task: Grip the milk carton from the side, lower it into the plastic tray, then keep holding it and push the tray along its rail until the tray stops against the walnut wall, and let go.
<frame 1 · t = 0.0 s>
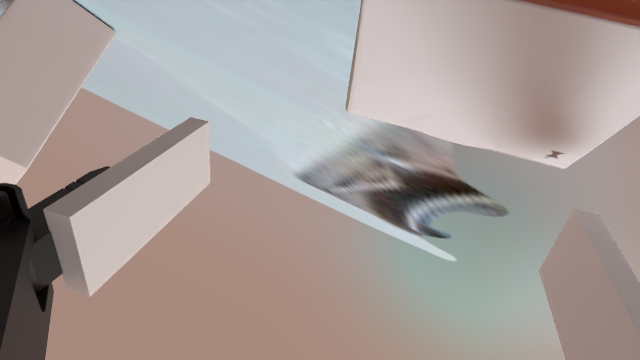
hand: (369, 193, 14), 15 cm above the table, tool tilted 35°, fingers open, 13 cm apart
milk carton: (70, 16, 38), on the table
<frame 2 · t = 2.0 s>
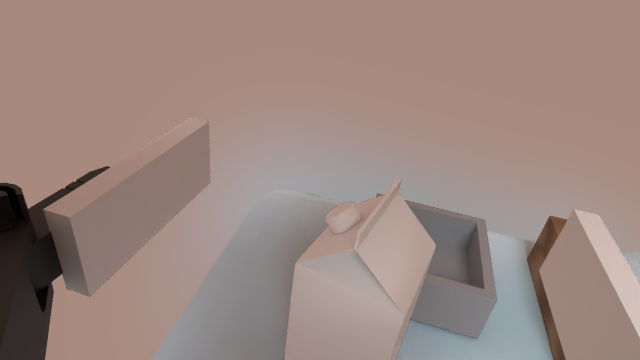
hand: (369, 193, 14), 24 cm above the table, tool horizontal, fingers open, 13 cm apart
tray: (421, 257, 44), point 3 cm above the table, slide at 0.0 cm
walnut wall: (550, 315, 43), on the table
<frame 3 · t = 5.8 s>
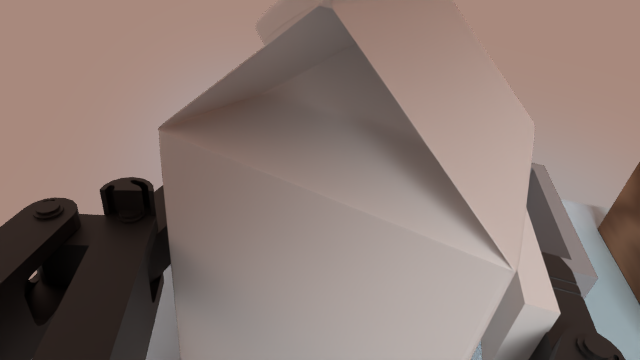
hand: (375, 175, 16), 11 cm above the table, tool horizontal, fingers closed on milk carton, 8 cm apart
tray: (451, 217, 28), point 3 cm above the table, slide at 0.0 cm
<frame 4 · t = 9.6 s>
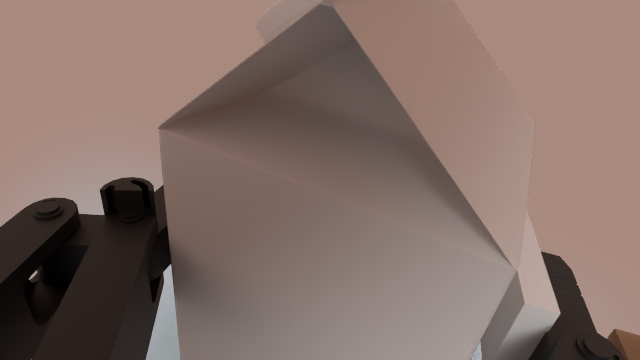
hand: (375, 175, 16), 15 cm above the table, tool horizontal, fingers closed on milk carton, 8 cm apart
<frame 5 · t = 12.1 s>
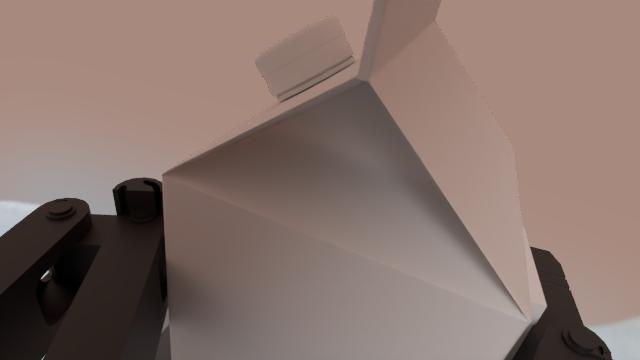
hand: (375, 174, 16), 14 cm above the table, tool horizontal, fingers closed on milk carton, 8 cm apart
when the fingers open (14 cm above the table, at t = 13.4 s): milk carton stays where it is, resting on tray.
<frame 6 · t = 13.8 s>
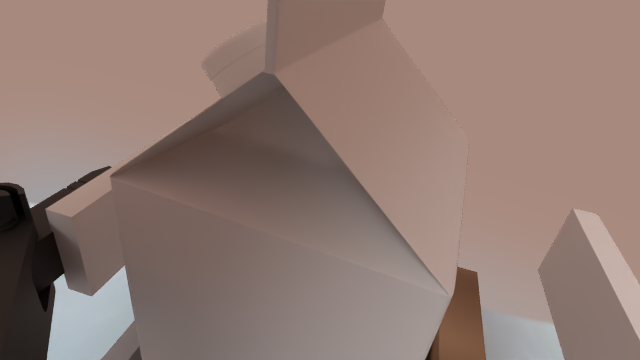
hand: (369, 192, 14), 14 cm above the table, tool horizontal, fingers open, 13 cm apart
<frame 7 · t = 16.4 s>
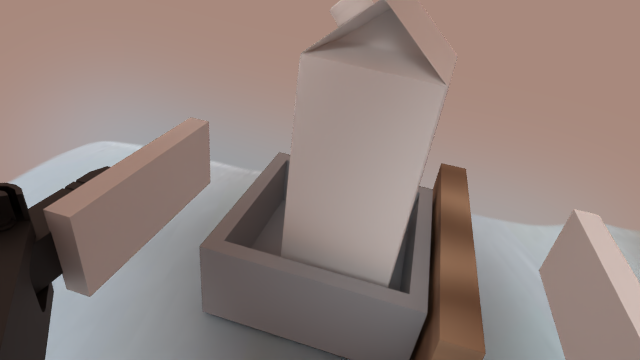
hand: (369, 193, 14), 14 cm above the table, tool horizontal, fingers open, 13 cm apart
tray: (329, 244, 28), point 3 cm above the table, slide at 7.0 cm, touching milk carton
walnut wall: (427, 304, 29), on the table
milk carton: (342, 265, 29), point 2 cm above the table, touching tray
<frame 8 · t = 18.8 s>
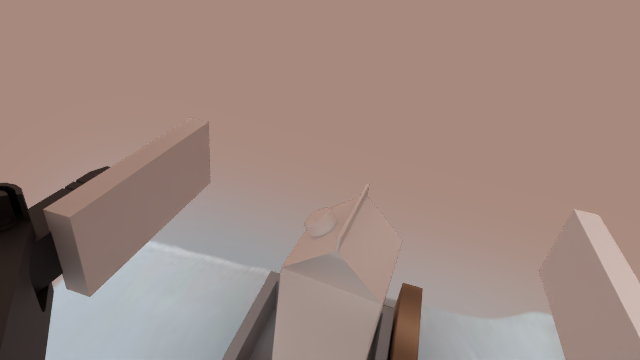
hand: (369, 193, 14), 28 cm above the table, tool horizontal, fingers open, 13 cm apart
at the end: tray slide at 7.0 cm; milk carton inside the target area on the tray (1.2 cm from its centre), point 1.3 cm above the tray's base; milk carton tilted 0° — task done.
